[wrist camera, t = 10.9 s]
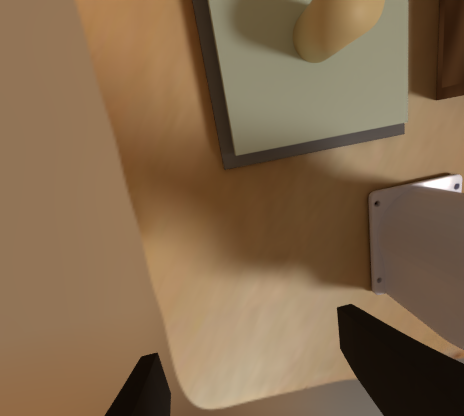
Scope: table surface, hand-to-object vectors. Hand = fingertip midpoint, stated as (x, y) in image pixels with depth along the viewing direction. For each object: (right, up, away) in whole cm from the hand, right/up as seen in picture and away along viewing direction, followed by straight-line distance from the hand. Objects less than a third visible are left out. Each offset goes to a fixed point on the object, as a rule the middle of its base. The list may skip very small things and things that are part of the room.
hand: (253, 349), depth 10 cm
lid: (+4, +17, +7) cm, 18 cm away
